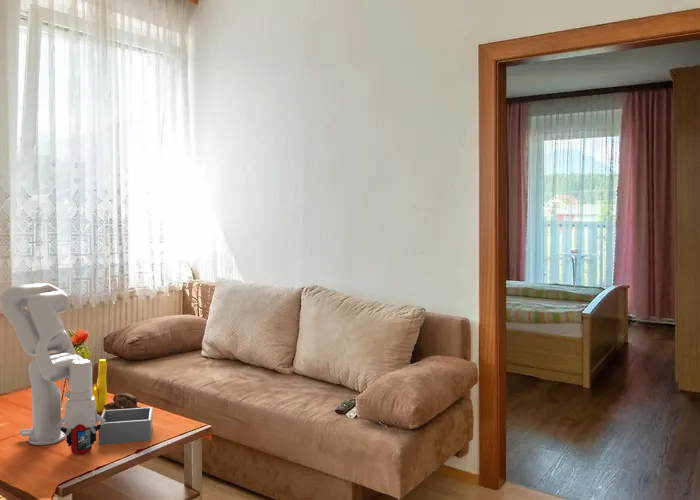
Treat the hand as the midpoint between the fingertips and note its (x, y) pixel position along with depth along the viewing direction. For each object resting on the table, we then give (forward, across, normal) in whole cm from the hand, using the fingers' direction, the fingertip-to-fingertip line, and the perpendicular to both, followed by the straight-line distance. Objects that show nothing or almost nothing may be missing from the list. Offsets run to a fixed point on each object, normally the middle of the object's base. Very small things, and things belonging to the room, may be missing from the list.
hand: (81, 443), depth 208 cm
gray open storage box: (+3, +14, +12) cm, 19 cm away
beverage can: (+3, 0, 0) cm, 3 cm away
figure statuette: (+3, 0, +41) cm, 41 cm away
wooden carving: (+3, +11, +31) cm, 33 cm away
